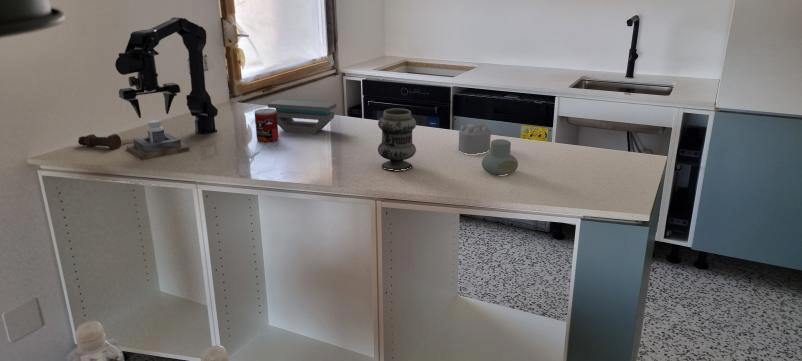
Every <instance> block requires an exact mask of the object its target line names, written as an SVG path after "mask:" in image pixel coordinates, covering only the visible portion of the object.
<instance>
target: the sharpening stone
mask: <svg viewBox="0 0 802 361" xmlns="http://www.w3.org/2000/svg"><path fill="white" fill-rule="evenodd" d="M336 108H337V103H336V102H335V103H334V102H323V101H321V102H320V101H309V100H308V101H306V100H304V101H303V100H291V99H289V100H288V99H276V100H273V101H271V102H268V103H267V109H275V110H276V111H277V122H278V127H279V128H280V129H282V131H284V133H289V134H299V135H310V134H312V135H311V136H313V135H315V134H316V133H318V132H320V131H322V130H323V129H324V128H325V127H326V126H327V125H328V124H329V123H330V122H331V121H332V120H333V119H334V118H335V111H332V110H334V109H336ZM295 119H299V120H295ZM300 119H303V120H304V121H303V120H301V121H300ZM305 120H312V121H305ZM313 120H314V121H315V122H314V121H313ZM316 120H317V122H316Z"/></svg>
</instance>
